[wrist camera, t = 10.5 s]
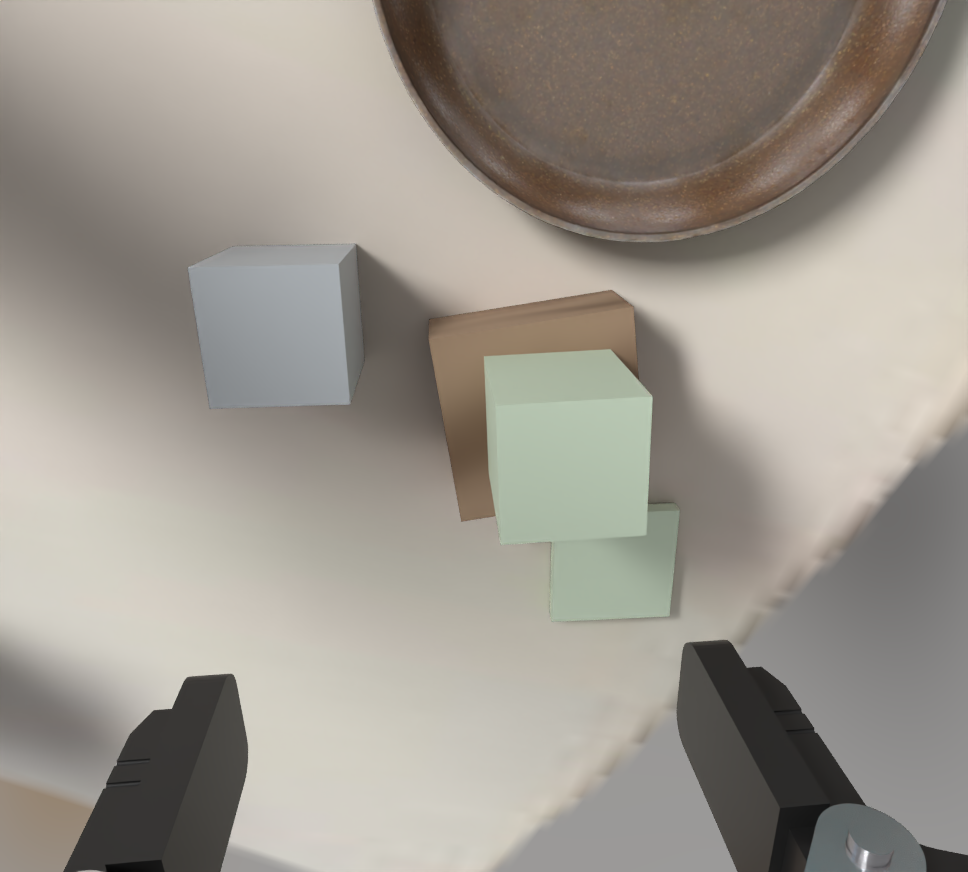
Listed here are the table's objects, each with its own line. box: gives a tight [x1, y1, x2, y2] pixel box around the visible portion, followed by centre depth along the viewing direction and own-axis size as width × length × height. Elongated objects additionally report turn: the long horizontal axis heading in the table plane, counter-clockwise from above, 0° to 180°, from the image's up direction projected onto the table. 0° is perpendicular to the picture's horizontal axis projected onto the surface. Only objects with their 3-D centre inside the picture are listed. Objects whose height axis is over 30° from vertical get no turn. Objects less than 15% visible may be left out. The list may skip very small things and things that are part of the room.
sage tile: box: [549, 503, 680, 622], centre depth 36 cm, size 6×6×1 cm
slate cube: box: [188, 244, 365, 409], centre depth 28 cm, size 5×5×6 cm
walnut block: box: [429, 290, 639, 522], centre depth 31 cm, size 8×8×4 cm
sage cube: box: [484, 349, 653, 545], centre depth 27 cm, size 5×5×6 cm
